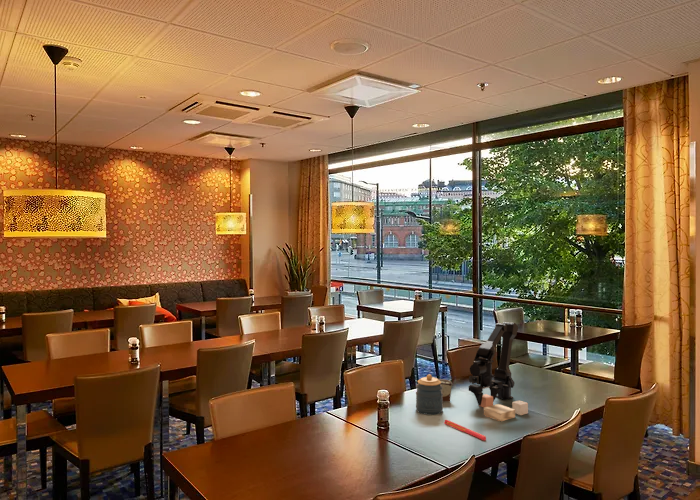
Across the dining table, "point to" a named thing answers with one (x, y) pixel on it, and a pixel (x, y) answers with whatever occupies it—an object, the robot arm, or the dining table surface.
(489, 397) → the terracotta cube
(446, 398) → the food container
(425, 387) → the canister
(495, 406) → the birch base block
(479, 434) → the chopstick
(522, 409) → the beige cube
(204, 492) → the dining table surface
